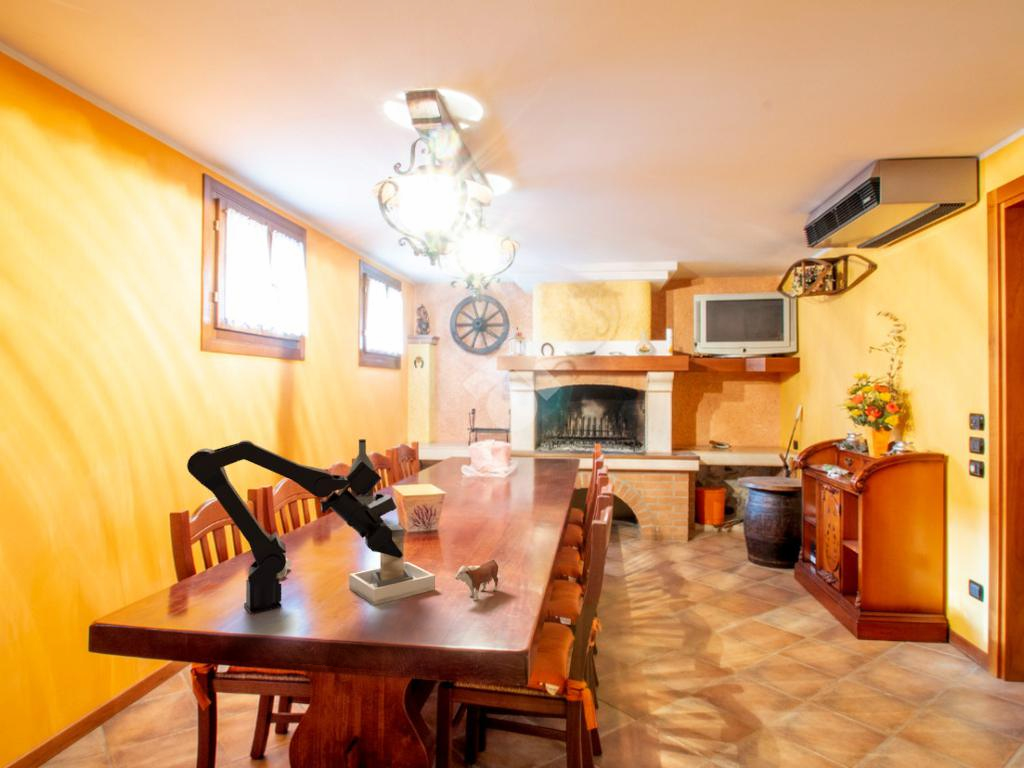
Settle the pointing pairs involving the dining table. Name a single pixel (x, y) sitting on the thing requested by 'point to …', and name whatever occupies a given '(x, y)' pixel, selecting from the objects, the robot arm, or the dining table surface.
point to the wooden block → (390, 564)
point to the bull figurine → (478, 576)
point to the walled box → (391, 584)
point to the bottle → (363, 456)
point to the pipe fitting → (285, 569)
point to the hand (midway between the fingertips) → (397, 551)
